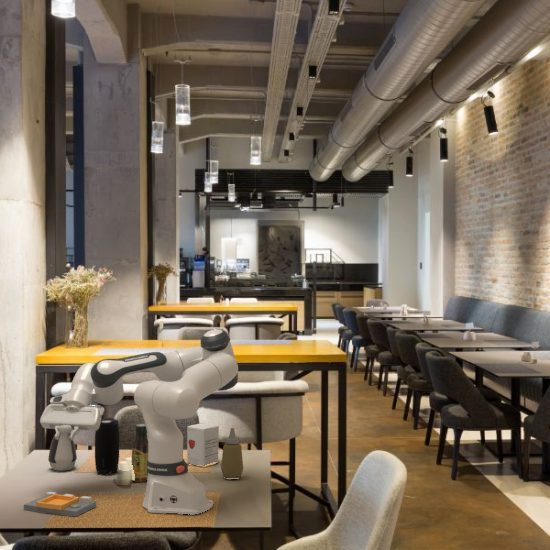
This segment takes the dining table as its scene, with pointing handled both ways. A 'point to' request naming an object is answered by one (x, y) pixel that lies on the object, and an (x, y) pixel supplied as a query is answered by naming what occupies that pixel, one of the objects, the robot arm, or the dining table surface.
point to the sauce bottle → (140, 453)
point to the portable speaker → (107, 446)
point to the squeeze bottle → (232, 457)
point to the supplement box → (202, 444)
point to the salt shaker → (64, 447)
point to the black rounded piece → (53, 453)
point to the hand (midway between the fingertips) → (63, 439)
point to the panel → (61, 504)
